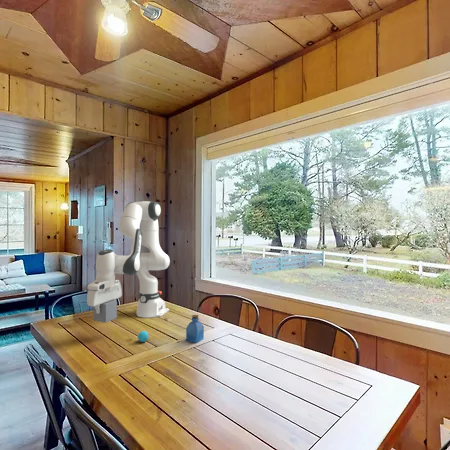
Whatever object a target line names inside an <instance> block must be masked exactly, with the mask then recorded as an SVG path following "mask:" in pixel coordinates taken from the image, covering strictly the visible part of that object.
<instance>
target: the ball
mask: <svg viewBox="0 0 450 450" xmlns="http://www.w3.org/2000/svg"><path fill="white" fill-rule="evenodd" d="M137 340H138V341H139V342H141V343H145V342H146V341H147V340H149V333H148V332H147V331H146V330H142V331H140V332H139V333H138V335H137Z"/></svg>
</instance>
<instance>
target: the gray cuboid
mask: <svg viewBox="0 0 450 450" xmlns="http://www.w3.org/2000/svg"><path fill="white" fill-rule="evenodd" d="M117 303H118V301H117V299H116V300H111V301H108V302H105V303H102V304H100V307H99V308H100V309H101V313H99V314H98V313H96V309H95V307H94V306H93V321H95V322H101V323H108V322H110V321H113V320H115V319H118V311H117V310H118V305H117Z"/></svg>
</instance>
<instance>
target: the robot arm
mask: <svg viewBox="0 0 450 450" xmlns="http://www.w3.org/2000/svg"><path fill="white" fill-rule="evenodd" d="M161 208H162V207H161V205H160V204H159V202H157V201H146V200H142V201H136V202H135V201H132V202H129V203H127V204H126V205H125V208H124V210H123V211H122V214H121V216H120V219H119V222H118V230H119V232H120V233H121V234H122V235H123V236H125V237H126V238H129V239H131V248H130V254H128V255H120V254H116V253H115V252H114V250H112V249H103V250H100V251H99V252H97V254H96V259H95V260H96V261H95V270H96V275H95V280H94V281H92V282H90V283H89V284H88V285H87V290H88V291H87V295H86V303H87V304H86V305H88V307H93V308H94V307H95V309H96V313H98V314H99V313H101V309H100V308H99V307H100V304H102V303H105V302H108V301H111V300H116V301H117V299H119V298H121V297H122V295H123V293H122V290H123V289H122V285H121V281H120V280H119V279H116V275H115V274H118V275H126V276H134V275H136V276H137V278H138V282H139V292H138V300H137V306H136V307H137V308H136V311H135V314H136V316H137V317H139V318H144V319H145V318H146V319H147V318H157V317H163V315H165V314H166V313H168V312H169V311H170V308H168V307H166V302H165V300H163V298H161V297H160V295H162V293H163V292H162V291H160V290H158V289H159V287H158V286H159V281H158V278H157V277H156V276H154V275H152V274H151V273H150V272H149V271H162V270H163V271H164V270H166V269H168V267H169V266H170V264H171V260H170V259H171V258H170V256H169V255H168V254H166V252H164V250H163V249H162V247H161V245H160V239H159V233H160V232H159V229H160V228H159V220H158V219H159V218H160V215H161V214H162V209H161ZM142 246H143V247H145V248H147V249H148V250H149V252H142Z"/></svg>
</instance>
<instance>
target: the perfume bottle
mask: <svg viewBox="0 0 450 450" xmlns="http://www.w3.org/2000/svg"><path fill="white" fill-rule="evenodd" d="M191 317H192V318H191V322H189V323H188V325H187V326H186V331H185V334H186V335H185V336H186V339H185V340H186V342H191V343H195V344H198V343H199V342H201V341H203V340H205V339H204V334H205V332H204V331H205V329H204V328H205V327H204V325H203V323H202V322H201V321H199V319H200V318H199V315H198V314H192V316H191Z"/></svg>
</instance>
